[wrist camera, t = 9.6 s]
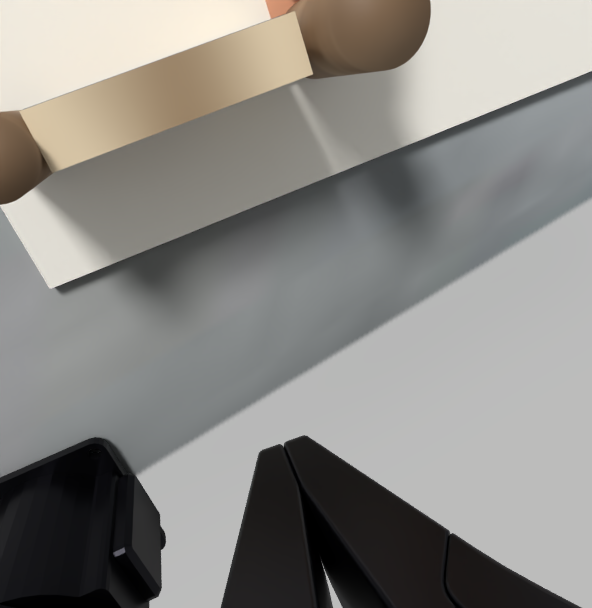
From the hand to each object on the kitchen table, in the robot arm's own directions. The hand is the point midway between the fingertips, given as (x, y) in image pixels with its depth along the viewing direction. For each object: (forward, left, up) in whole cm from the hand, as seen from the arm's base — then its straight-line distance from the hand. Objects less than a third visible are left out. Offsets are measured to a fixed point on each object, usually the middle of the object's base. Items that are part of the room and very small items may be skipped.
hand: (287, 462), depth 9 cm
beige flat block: (0, +6, -12) cm, 13 cm away
